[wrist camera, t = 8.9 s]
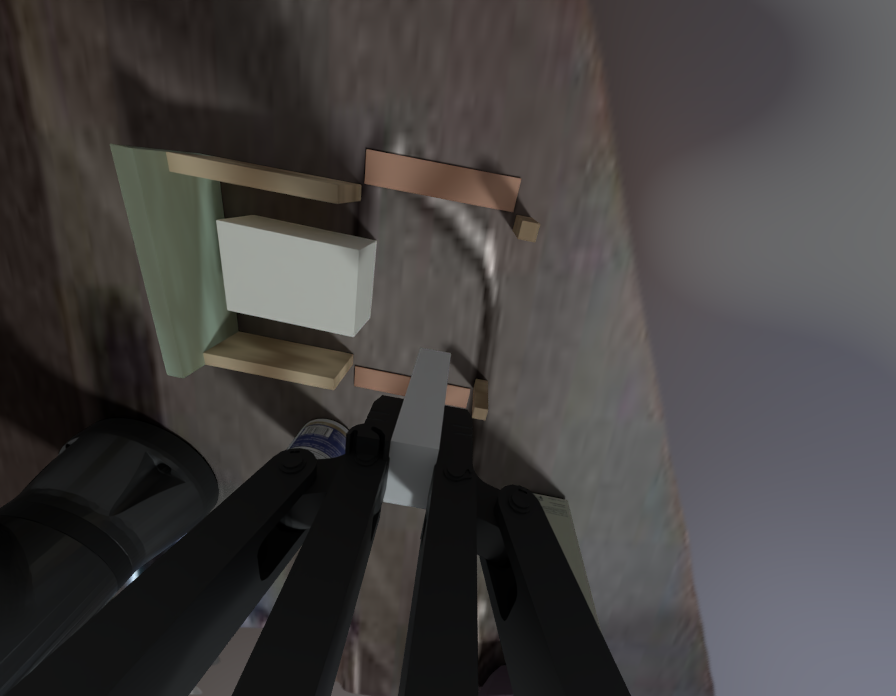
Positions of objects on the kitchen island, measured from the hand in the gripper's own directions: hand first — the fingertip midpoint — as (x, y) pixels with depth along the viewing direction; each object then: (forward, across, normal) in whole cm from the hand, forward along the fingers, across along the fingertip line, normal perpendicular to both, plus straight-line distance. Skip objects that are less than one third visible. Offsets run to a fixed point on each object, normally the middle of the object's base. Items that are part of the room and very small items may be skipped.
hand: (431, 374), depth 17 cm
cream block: (+11, -10, +1) cm, 15 cm away
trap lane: (+10, -6, 0) cm, 12 cm away
